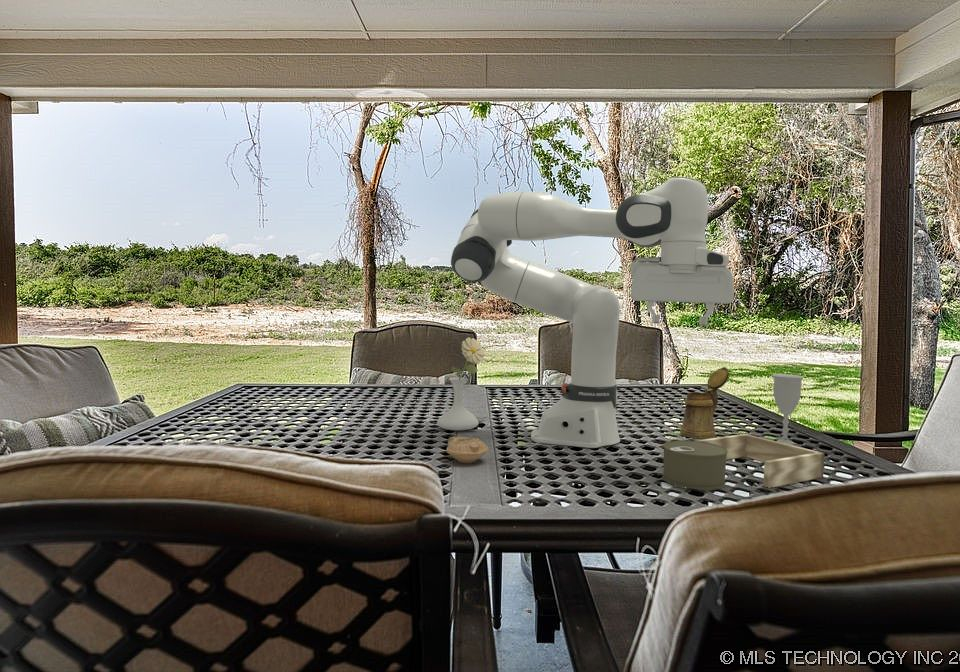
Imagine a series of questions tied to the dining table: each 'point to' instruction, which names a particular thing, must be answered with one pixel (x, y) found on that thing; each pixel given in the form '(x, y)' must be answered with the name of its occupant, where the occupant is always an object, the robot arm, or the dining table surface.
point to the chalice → (786, 398)
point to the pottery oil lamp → (466, 449)
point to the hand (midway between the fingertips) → (679, 324)
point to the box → (774, 458)
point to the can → (694, 464)
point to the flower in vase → (457, 413)
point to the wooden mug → (703, 408)
